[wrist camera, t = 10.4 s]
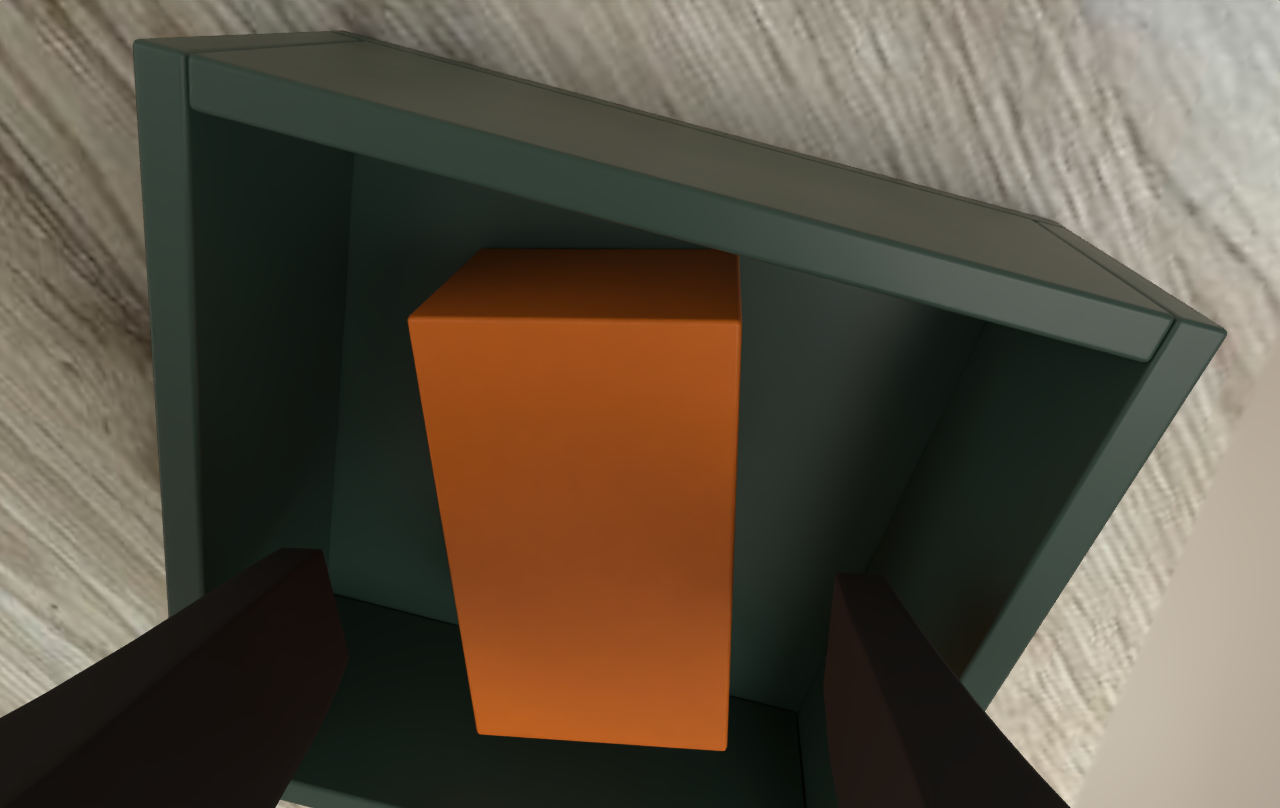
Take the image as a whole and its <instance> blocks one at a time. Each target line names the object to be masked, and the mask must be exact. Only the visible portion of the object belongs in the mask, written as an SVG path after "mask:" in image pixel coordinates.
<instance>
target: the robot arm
mask: <svg viewBox="0 0 1280 808" xmlns="http://www.w3.org/2000/svg"><path fill="white" fill-rule="evenodd" d="M349 658H350V655H349V651H348V648H347V644H346V640H345V636H344V632H343V628H342V624H341V620H340V617H339V613H338V609H337V605H336V601H335V597H334V593H333V589H332V586H331V582H330V578H329V574H328V570H327V566H326V562H325V558H324V555H323V551H322V549H305V548H283V547H282V548H280V549H278V550H277V551H275V552H273V553H271V554H269V555H268V556H266V557H264V558H263V559H261V560H259V561H258V562H256V563H254V564H253V565H251V566H249V567H248V568H246V569H245V570H243V571H241V572H240V573H238V574H237V575H235V576H233V577H232V578H230V579H229V580H227V581H226V582H224V583H223V584H221V585H219V586H218V587H216V588H215V589H213V590H212V591H210V592H209V593H207V594H206V595H204V596H202V597H201V598H199V599H198V600H196V601H195V602H193V603H192V604H190V605H188V606H187V607H185V608H184V609H182V610H181V611H179V612H177V613H176V614H174V615H173V616H171V617H170V618H168V619H167V620H165V621H163V622H162V623H160V624H159V625H157V626H156V627H154V628H152V629H151V630H149V631H148V632H146V633H145V634H143V635H142V636H140V637H138V638H137V639H135V640H134V641H132V642H130V643H129V644H127V645H125V646H124V647H122V648H120V649H119V650H117V651H115V652H114V653H112V654H110V655H109V656H107V657H105V658H104V659H102V660H100V661H99V662H97V663H95V664H94V665H92V666H90V667H89V668H87V669H85V670H84V671H82V672H80V673H79V674H77V675H75V676H74V677H72V678H70V679H68V680H67V681H65V682H63V683H62V684H60V685H58V686H57V687H55V688H53V689H52V690H50V691H48V692H47V693H45V694H43V695H41V696H39V697H38V698H36V699H34V700H32V701H31V702H29V703H27V704H25V705H23V706H21V707H20V708H18V709H16V710H14V711H12V712H10V713H9V714H7V715H5V716H3V717H1V718H0V808H275V807H276V806H277V804H278V802H279V800H280V799H281V797H282V795H283V793H284V792H285V790H286V788H287V786H288V785H289V783H290V781H291V779H292V778H293V776H294V774H295V772H296V771H297V769H298V767H299V765H300V764H301V762H302V760H303V758H304V756H305V755H306V753H307V751H308V749H309V747H310V746H311V744H312V742H313V740H314V739H315V737H316V735H317V733H318V731H319V729H320V728H321V726H322V724H323V722H324V719H325V717H326V715H327V712H328V710H329V708H330V705H331V703H332V701H333V698H334V696H335V694H336V691H337V689H338V686H339V683H340V681H341V678H342V676H343V673H344V671H345V668H346V666H347V663H348V660H349ZM823 688H824V701H825V713H826V725H827V736H828V746H829V757H830V763H831V769H832V774H833V779H834V784H835V789H836V794H837V800H838V805H839V808H1070V807H1069V806H1068V805H1067V804H1066V802H1065V801H1064V800H1063V799H1062V798H1061V797H1060V796H1059V795H1058V794H1057V793H1056V792H1055V791H1054V790H1053V789H1052V788H1051V787H1050V786H1049V784H1048V783H1047V782H1046V781H1045V780H1044V779H1043V778H1042V777H1041V776H1040V775H1039V774H1038V772H1037V771H1036V770H1035V769H1034V768H1033V767H1032V766H1031V765H1030V764H1029V763H1028V761H1027V760H1026V759H1025V758H1024V757H1023V756H1022V755H1021V753H1020V752H1019V751H1018V750H1017V749H1016V748H1015V747H1014V745H1013V744H1012V743H1011V742H1010V741H1009V740H1008V739H1007V737H1006V736H1005V735H1004V734H1003V733H1002V732H1001V730H1000V729H999V728H998V727H997V726H996V725H995V723H994V722H993V721H992V720H991V719H990V717H989V716H988V715H987V714H986V713H985V711H984V710H983V709H982V708H981V706H980V705H979V704H978V703H977V701H976V700H975V699H974V698H973V696H972V695H971V694H970V692H969V691H968V690H967V689H966V687H965V686H964V685H963V684H962V682H961V681H960V680H959V679H958V677H957V676H956V675H955V673H954V672H953V671H952V670H951V668H950V667H949V666H948V664H947V663H946V662H945V660H944V659H943V658H942V656H941V655H940V654H939V652H938V651H937V650H936V648H935V647H934V646H933V644H932V643H931V641H930V640H929V639H928V637H927V636H926V634H925V633H924V632H923V630H922V629H921V627H920V626H919V625H918V623H917V622H916V620H915V619H914V617H913V616H912V615H911V613H910V612H909V610H908V609H907V607H906V606H905V604H904V603H903V601H902V600H901V598H900V597H899V595H898V594H897V592H896V591H895V589H894V588H893V586H892V585H891V583H890V582H889V581H888V580H887V579H886V578H885V577H884V576H883V575H881V574H859V573H837V572H836V573H835V582H834V591H833V600H832V609H831V619H830V628H829V637H828V646H827V655H826V665H825V674H824V683H823Z"/></svg>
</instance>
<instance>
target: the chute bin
mask: <svg viewBox="0 0 1280 808" xmlns="http://www.w3.org/2000/svg"><path fill="white" fill-rule="evenodd" d="M133 58H134V74H135V90H136V106H137V122H138V137H139V153H140V169H141V185H142V201H143V217H144V233H145V249H146V265H147V281H148V297H149V313H150V328H151V344H152V360H153V376H154V392H155V408H156V424H157V440H158V456H159V472H160V488H161V503H162V519H163V535H164V551H165V567H166V583H167V599H168V615H169V618H170V617H171V616H173V615H174V614H176V613H177V612H179V611H181V610H182V609H184V608H185V607H187V606H188V605H190V604H192V603H193V602H195V601H196V600H198V599H199V598H201V597H202V596H204V595H206V594H207V593H209V592H210V591H212V590H213V589H215V588H216V587H218V586H219V585H221V584H223V583H224V582H226V581H227V580H229V579H230V578H232V577H233V576H235V575H237V574H238V573H240V572H241V571H243V570H245V569H246V568H248V567H249V566H251V565H253V564H254V563H256V562H258V561H259V560H261V559H263V558H264V557H266V556H268V555H269V554H271V553H273V552H275V551H277V550H278V549H280V548H282V547H283V548H305V549H322V551H323V555H324V558H325V562H326V566H327V570H328V574H329V578H330V582H331V586H332V589H333V593H334V597H335V601H336V605H337V609H338V613H339V617H340V620H341V624H342V628H343V632H344V636H345V640H346V644H347V648H348V651H349V655H350V658H349V660H348V663H347V666H346V668H345V671H344V673H343V676H342V678H341V681H340V683H339V686H338V689H337V691H336V694H335V696H334V698H333V701H332V703H331V705H330V708H329V710H328V712H327V715H326V717H325V719H324V722H323V724H322V726H321V728H320V729H319V731H318V733H317V735H316V737H315V739H314V740H313V742H312V744H311V746H310V747H309V749H308V751H307V753H306V755H305V756H304V758H303V760H302V762H301V764H300V765H299V767H298V769H297V771H296V772H295V774H294V776H293V778H292V779H291V781H290V783H289V785H288V786H287V788H286V790H285V792H284V793H283V795H282V797H281V799H280V800H284V801H288V802H291V803H295V804H299V805H303V806H307V807H311V808H839V805H838V800H837V794H836V789H835V784H834V779H833V774H832V769H831V763H830V757H829V746H828V736H827V725H826V713H825V701H824V688H823V683H824V674H825V665H826V655H827V646H828V637H829V628H830V619H831V609H832V600H833V591H834V582H835V573H836V572H837V573H859V574H881V575H883V576H884V577H885V578H886V579H887V580H888V581H889V582H890V583H891V585H892V586H893V588H894V589H895V591H896V592H897V594H898V595H899V597H900V598H901V600H902V601H903V603H904V604H905V606H906V607H907V609H908V610H909V612H910V613H911V615H912V616H913V617H914V619H915V620H916V622H917V623H918V625H919V626H920V627H921V629H922V630H923V632H924V633H925V634H926V636H927V637H928V639H929V640H930V641H931V643H932V644H933V646H934V647H935V648H936V650H937V651H938V652H939V654H940V655H941V656H942V658H943V659H944V660H945V662H946V663H947V664H948V666H949V667H950V668H951V670H952V671H953V672H954V673H955V675H956V676H957V677H958V679H959V680H960V681H961V682H962V684H963V685H964V686H965V687H966V689H967V690H968V691H969V692H970V694H971V695H972V696H973V698H974V699H975V700H976V701H977V703H978V704H979V705H980V706H981V708H982V709H983V710H984V711H985V710H986V709H987V707H988V706H989V704H990V703H991V701H992V699H993V698H994V696H995V695H996V693H997V692H998V690H999V689H1000V687H1001V685H1002V684H1003V682H1004V681H1005V679H1006V678H1007V676H1008V675H1009V673H1010V671H1011V670H1012V668H1013V667H1014V665H1015V664H1016V662H1017V661H1018V659H1019V657H1020V656H1021V654H1022V653H1023V651H1024V650H1025V648H1026V647H1027V645H1028V643H1029V642H1030V640H1031V639H1032V637H1033V636H1034V634H1035V633H1036V631H1037V629H1038V628H1039V626H1040V625H1041V623H1042V622H1043V620H1044V619H1045V617H1046V616H1047V614H1048V612H1049V611H1050V609H1051V608H1052V606H1053V605H1054V603H1055V602H1056V600H1057V598H1058V597H1059V595H1060V594H1061V592H1062V591H1063V589H1064V588H1065V586H1066V584H1067V583H1068V581H1069V580H1070V578H1071V577H1072V575H1073V574H1074V572H1075V570H1076V569H1077V567H1078V566H1079V564H1080V563H1081V561H1082V560H1083V558H1084V556H1085V555H1086V553H1087V552H1088V550H1089V549H1090V547H1091V546H1092V544H1093V543H1094V541H1095V539H1096V538H1097V536H1098V535H1099V533H1100V532H1101V530H1102V529H1103V527H1104V525H1105V524H1106V522H1107V521H1108V519H1109V518H1110V516H1111V515H1112V513H1113V511H1114V510H1115V508H1116V507H1117V505H1118V504H1119V502H1120V501H1121V499H1122V497H1123V496H1124V494H1125V493H1126V491H1127V490H1128V488H1129V487H1130V485H1131V483H1132V482H1133V480H1134V479H1135V477H1136V476H1137V474H1138V473H1139V471H1140V470H1141V468H1142V466H1143V465H1144V463H1145V462H1146V460H1147V459H1148V457H1149V456H1150V454H1151V452H1152V451H1153V449H1154V448H1155V446H1156V445H1157V443H1158V442H1159V440H1160V438H1161V437H1162V435H1163V434H1164V432H1165V431H1166V429H1167V428H1168V426H1169V424H1170V423H1171V421H1172V420H1173V418H1174V417H1175V415H1176V414H1177V412H1178V410H1179V409H1180V407H1181V406H1182V404H1183V403H1184V401H1185V400H1186V398H1187V396H1188V395H1189V393H1190V392H1191V390H1192V389H1193V387H1194V386H1195V384H1196V383H1197V381H1198V379H1199V378H1200V376H1201V375H1202V373H1203V372H1204V370H1205V369H1206V367H1207V365H1208V364H1209V362H1210V361H1211V359H1212V358H1213V356H1214V355H1215V353H1216V351H1217V350H1218V348H1219V347H1220V345H1221V344H1222V342H1223V341H1224V339H1225V337H1226V335H1227V331H1226V330H1225V329H1224V328H1223V327H1221V326H1220V325H1218V324H1216V323H1215V322H1213V321H1212V320H1210V319H1208V318H1207V317H1205V316H1204V315H1202V314H1201V313H1199V312H1197V311H1196V310H1194V309H1193V308H1191V307H1190V306H1188V305H1186V304H1185V303H1183V302H1182V301H1180V300H1178V299H1177V298H1175V297H1174V296H1172V295H1171V294H1169V293H1167V292H1166V291H1164V290H1163V289H1161V288H1160V287H1158V286H1156V285H1155V284H1153V283H1152V282H1150V281H1148V280H1147V279H1145V278H1144V277H1142V276H1141V275H1139V274H1137V273H1136V272H1134V271H1133V270H1131V269H1130V268H1128V267H1126V266H1125V265H1123V264H1122V263H1120V262H1118V261H1117V260H1115V259H1114V258H1112V257H1111V256H1109V255H1107V254H1106V253H1104V252H1103V251H1101V250H1100V249H1098V248H1096V247H1095V246H1093V245H1092V244H1090V243H1088V242H1087V241H1085V240H1084V239H1082V238H1081V237H1079V236H1077V235H1076V234H1074V233H1073V232H1071V231H1070V230H1068V229H1066V228H1065V227H1063V226H1062V225H1060V224H1059V223H1057V222H1055V221H1051V220H1047V219H1044V218H1040V217H1036V216H1032V215H1029V214H1025V213H1021V212H1018V211H1014V210H1010V209H1006V208H1003V207H999V206H995V205H991V204H988V203H984V202H980V201H977V200H973V199H969V198H965V197H962V196H958V195H954V194H950V193H947V192H943V191H939V190H935V189H932V188H928V187H924V186H921V185H917V184H913V183H909V182H906V181H902V180H898V179H894V178H891V177H887V176H883V175H880V174H876V173H872V172H868V171H865V170H861V169H857V168H853V167H850V166H846V165H842V164H839V163H835V162H831V161H827V160H824V159H820V158H816V157H812V156H809V155H805V154H801V153H797V152H794V151H790V150H786V149H783V148H779V147H775V146H771V145H768V144H764V143H760V142H756V141H753V140H749V139H745V138H742V137H738V136H734V135H730V134H727V133H723V132H719V131H715V130H712V129H708V128H704V127H700V126H697V125H693V124H689V123H686V122H682V121H678V120H674V119H671V118H667V117H663V116H659V115H656V114H652V113H648V112H645V111H641V110H637V109H633V108H630V107H626V106H622V105H618V104H615V103H611V102H607V101H604V100H600V99H596V98H592V97H589V96H585V95H581V94H577V93H574V92H570V91H566V90H562V89H559V88H555V87H551V86H548V85H544V84H540V83H536V82H533V81H529V80H525V79H521V78H518V77H514V76H510V75H507V74H503V73H499V72H495V71H492V70H488V69H484V68H480V67H477V66H473V65H469V64H465V63H462V62H458V61H454V60H451V59H447V58H443V57H439V56H436V55H432V54H428V53H424V52H421V51H417V50H413V49H410V48H406V47H402V46H398V45H395V44H391V43H387V42H383V41H380V40H376V39H372V38H368V37H365V36H361V35H357V34H354V33H350V32H346V31H322V32H298V33H273V34H248V35H223V36H198V37H173V38H149V39H137V40H135V41H134V43H133ZM481 249H717V250H720V251H724V252H728V253H732V254H735V255H739V260H740V285H741V309H742V343H741V371H740V400H739V428H738V457H737V485H736V514H735V542H734V571H733V599H732V628H731V656H730V685H729V713H728V742H727V748H726V750H725V751H714V750H699V749H684V748H670V747H655V746H641V745H626V744H612V743H597V742H583V741H568V740H554V739H539V738H524V737H510V736H495V735H481V734H478V732H477V728H476V722H475V716H474V710H473V704H472V698H471V692H470V686H469V680H468V675H467V669H466V663H465V657H464V651H463V645H462V639H461V633H460V627H459V621H458V615H457V609H456V604H455V598H454V592H453V586H452V580H451V574H450V568H449V562H448V556H447V550H446V544H445V539H444V533H443V527H442V521H441V515H440V509H439V503H438V497H437V491H436V485H435V479H434V474H433V468H432V462H431V456H430V450H429V444H428V438H427V432H426V426H425V420H424V414H423V409H422V403H421V397H420V391H419V385H418V379H417V373H416V367H415V361H414V355H413V349H412V343H411V338H410V332H409V326H408V318H409V316H410V315H411V314H412V313H413V312H414V311H415V310H416V309H417V308H418V307H420V306H421V305H422V304H423V303H424V302H425V301H426V300H427V299H428V298H429V297H430V296H431V295H432V294H433V293H434V292H435V291H437V290H438V289H439V288H440V287H441V286H442V285H443V284H444V283H445V282H446V281H447V280H448V279H449V278H450V277H451V276H452V275H454V274H455V273H456V272H457V271H458V270H459V269H460V268H461V267H462V266H463V265H464V264H465V263H466V262H467V261H468V260H469V259H471V258H472V257H473V256H474V255H475V254H476V253H477V252H478V251H479V250H481Z"/></svg>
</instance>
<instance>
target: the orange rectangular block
mask: <svg viewBox="0 0 1280 808" xmlns="http://www.w3.org/2000/svg"><path fill="white" fill-rule="evenodd" d="M408 326H409V332H410V338H411V343H412V349H413V355H414V361H415V367H416V373H417V379H418V385H419V391H420V397H421V403H422V409H423V414H424V420H425V426H426V432H427V438H428V444H429V450H430V456H431V462H432V468H433V474H434V479H435V485H436V491H437V497H438V503H439V509H440V515H441V521H442V527H443V533H444V539H445V544H446V550H447V556H448V562H449V568H450V574H451V580H452V586H453V592H454V598H455V604H456V609H457V615H458V621H459V627H460V633H461V639H462V645H463V651H464V657H465V663H466V669H467V675H468V680H469V686H470V692H471V698H472V704H473V710H474V716H475V722H476V728H477V732H478V734H481V735H495V736H510V737H524V738H539V739H554V740H568V741H583V742H597V743H612V744H626V745H641V746H655V747H670V748H684V749H699V750H714V751H725V750H726V748H727V742H728V713H729V685H730V656H731V628H732V599H733V571H734V542H735V514H736V485H737V457H738V428H739V400H740V371H741V343H742V309H741V285H740V260H739V255H735V254H732V253H728V252H724V251H720V250H717V249H481V250H479V251H478V252H477V253H476V254H475V255H474V256H473V257H472V258H471V259H469V260H468V261H467V262H466V263H465V264H464V265H463V266H462V267H461V268H460V269H459V270H458V271H457V272H456V273H455V274H454V275H452V276H451V277H450V278H449V279H448V280H447V281H446V282H445V283H444V284H443V285H442V286H441V287H440V288H439V289H438V290H437V291H435V292H434V293H433V294H432V295H431V296H430V297H429V298H428V299H427V300H426V301H425V302H424V303H423V304H422V305H421V306H420V307H418V308H417V309H416V310H415V311H414V312H413V313H412V314H411V315H410V316H409V318H408Z"/></svg>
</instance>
